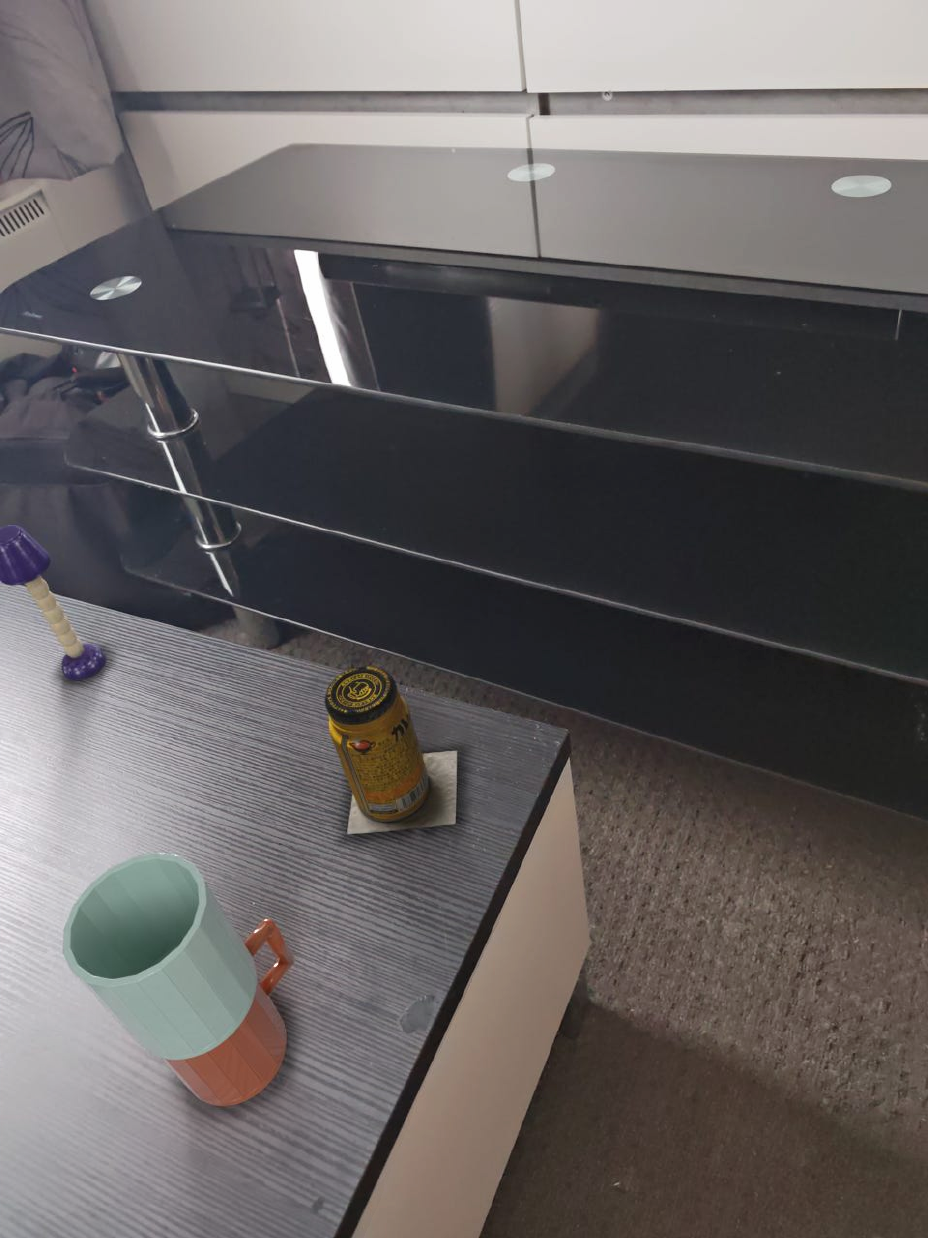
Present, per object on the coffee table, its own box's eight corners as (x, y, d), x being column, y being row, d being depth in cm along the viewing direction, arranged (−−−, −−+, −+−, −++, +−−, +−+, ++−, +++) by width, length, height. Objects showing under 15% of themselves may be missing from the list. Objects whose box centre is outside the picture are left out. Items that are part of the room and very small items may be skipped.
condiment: (356, 761, 76) (319, 659, 68) (457, 752, 75) (431, 647, 67) (347, 836, 71) (305, 735, 63) (456, 826, 70) (427, 723, 62)
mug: (237, 1128, 56) (191, 1076, 51) (163, 1070, 59) (112, 1015, 54) (336, 991, 61) (305, 931, 56) (264, 945, 65) (227, 884, 59)
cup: (112, 1061, 52) (39, 987, 46) (153, 935, 57) (93, 854, 52) (240, 1061, 51) (182, 985, 45) (269, 932, 56) (221, 849, 50)
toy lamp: (119, 657, 91) (41, 521, 80) (85, 689, 88) (0, 554, 77) (85, 646, 93) (5, 513, 82) (51, 678, 90) (-37, 544, 79)
